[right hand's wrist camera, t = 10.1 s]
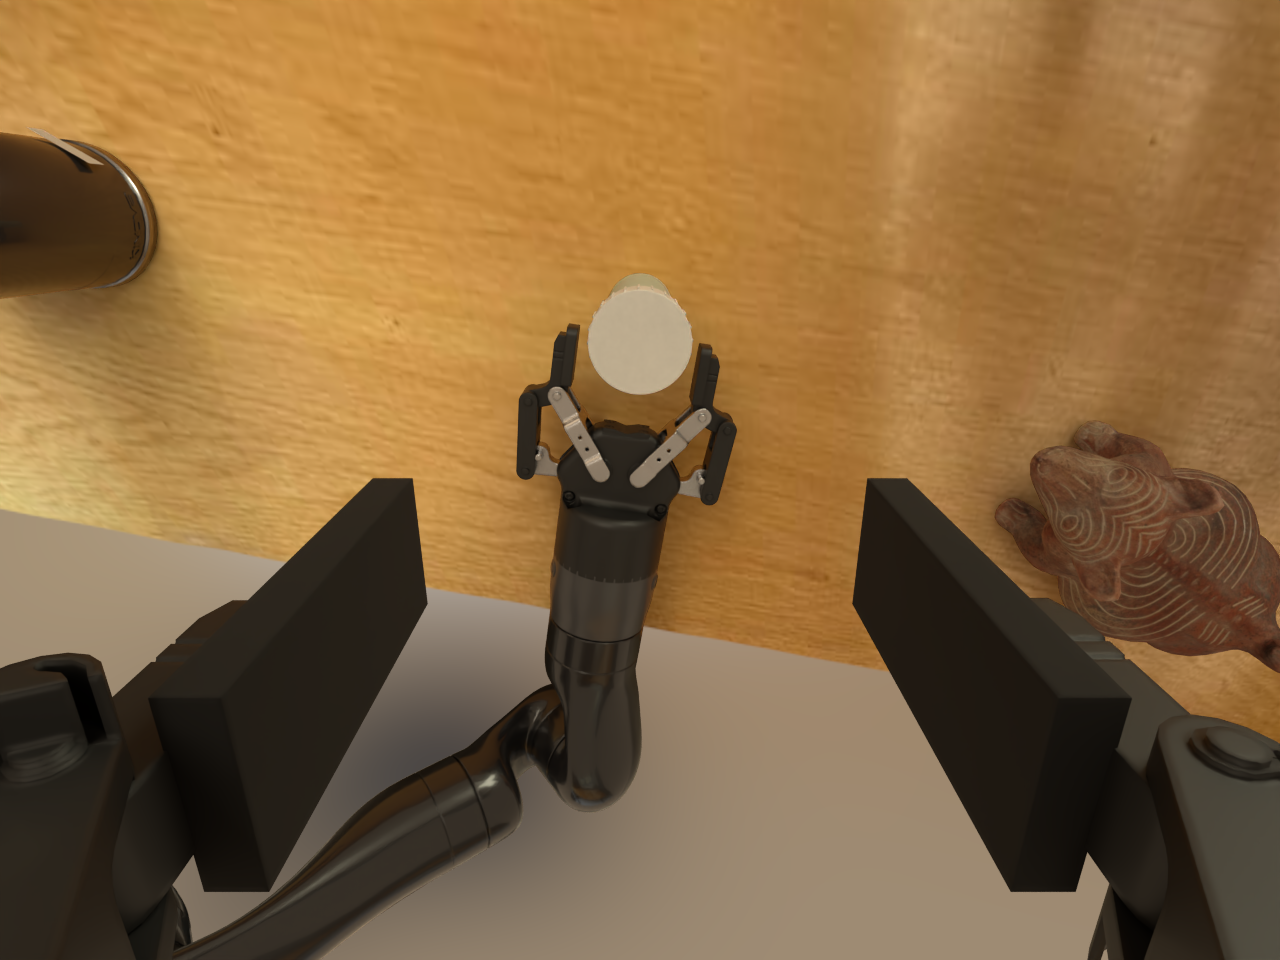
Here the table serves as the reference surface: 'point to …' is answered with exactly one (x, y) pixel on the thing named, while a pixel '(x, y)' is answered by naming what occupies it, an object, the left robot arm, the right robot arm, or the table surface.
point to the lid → (640, 340)
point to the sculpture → (1150, 547)
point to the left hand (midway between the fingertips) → (640, 335)
